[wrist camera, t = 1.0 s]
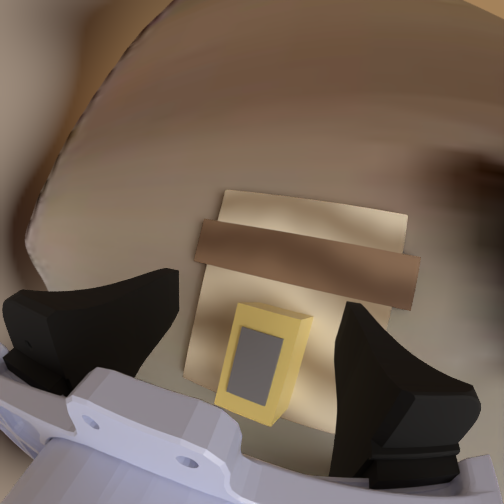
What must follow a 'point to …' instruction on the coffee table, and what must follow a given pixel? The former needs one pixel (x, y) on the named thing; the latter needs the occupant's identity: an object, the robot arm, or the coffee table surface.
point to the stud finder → (262, 361)
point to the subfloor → (297, 282)
